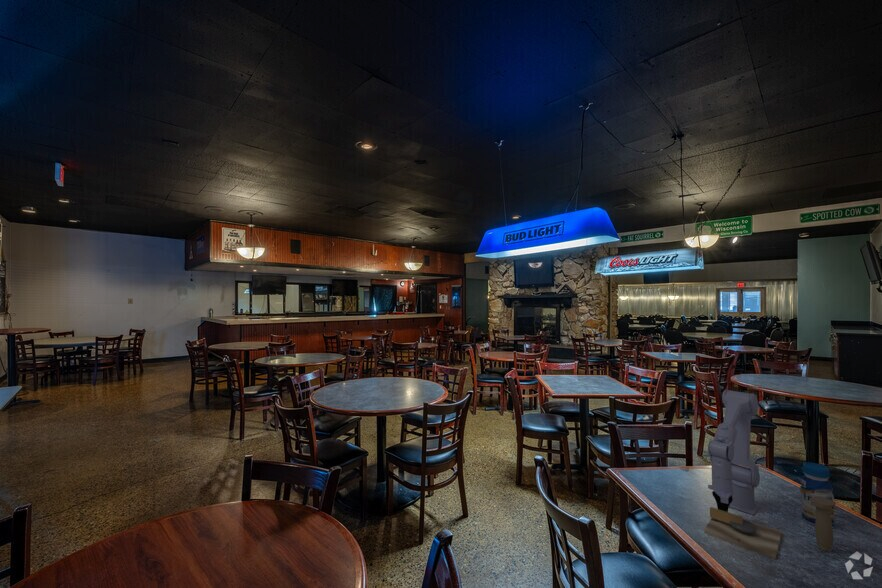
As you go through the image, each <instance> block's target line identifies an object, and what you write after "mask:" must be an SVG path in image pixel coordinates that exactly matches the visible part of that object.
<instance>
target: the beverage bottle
mask: <svg viewBox="0 0 882 588" xmlns="http://www.w3.org/2000/svg"><path fill="white" fill-rule="evenodd" d="M802 473H803V474H804V475H802V476H801V479H800V483H801V485H800V488H799V490H800V503H801V517H802V519H803V520H804V521H805V522H806V523H808V524H810V525H813V526H814V527H815V521H816V507H815V506H814V505H812V504H811V498H812V497H823V498H826V499H829V500H832V501H834V500H835V496H834V494H833V491H834V487H833V486H832V483H831V482H830V481H829V480H828V479H830V469H829V467H827V466H825V465H823V464H819V463H815V462H810V461H809V462H808V461H807V462H806V461H804V462H803V463H802ZM831 521H832V529H834V527H835V510H831Z"/></svg>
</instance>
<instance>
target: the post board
mask: <svg viewBox="0 0 882 588" xmlns="http://www.w3.org/2000/svg"><path fill="white" fill-rule="evenodd" d="M743 520H746V521H749V522H751V523H752V524H754V525H755V526H756V533H745V532H742V531H739V530H737V529H735V528H733V527H732V526H731V525H730V524H729V523H726V522H723V521H720V520H717V519H714V518H712V517H710V519H709V521H708V523H707V525H706V526H705V528H704V534H706V535H708V536H711V537H714V538H717V539H719V540H722V541H725V542H728V543H730V544H733V545H736V546H738V547H741V548H743V549H745V550H749V551H751V552H754V553H757V554H759V555H762V556H765V557H768V558H771V559H773V560H776V561H777V556H778V553H779V548H780V544H781V539H782V535H783V532H782V530H779V529H776V528H774V527H770V526H767V525H763V524H761V523H758V522H755V521H751V520H749V519H747V518H746V519H745V518H743Z"/></svg>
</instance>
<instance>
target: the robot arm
mask: <svg viewBox="0 0 882 588" xmlns="http://www.w3.org/2000/svg"><path fill="white" fill-rule="evenodd" d="M721 401H722V403H723V406H724V408H725V410H724V416H723V422H721V423H719V424H718V425H717V428H716V430H715V434H714V437H713V439H712V440H710V441H708V445H707V453H708V456H709V461H710V462H711V463H710V465H711V466H710V467H711V484H707V487H708V489H709V490H712V491H711V494H712V497H713V498H714V501H715V502H716V508H717V509H719V510H723V511H726V512H729V508H731V509H733V510H737V511H741V512H744V513H747V514H750V515H753V516H755V515H756V512H757V510H758V507H759V505H758V503H756V502H755V488H758V487H759V485H760V481H761V478H760V468H759V466H758V465H757V464H756V463H755V462H754V461H753V460H751V458H750V456H751V454H750V452H751V427H752V426H751V421H752V417H754V416H757V415H758V412H759V411H758V409H759V408H758V406H759V405H758V403H759V401H758V396H757V395H756V394H755V393H749V392H743V391H735V390H729V389H724V390H723V392H722V395H721Z"/></svg>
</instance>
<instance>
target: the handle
mask: <svg viewBox="0 0 882 588" xmlns="http://www.w3.org/2000/svg"><path fill="white" fill-rule="evenodd" d="M811 504H812V505H814V506H815V507H816V521H815V526H814V529H815V538H816V542H817V547H818V548H819V549H820V550H823V552H829V553H831V552H832V551H833V544H834V531H833V529H834V528H832V521H831V510H834V509H836V501H834V500H833V501H832V500H829V499H826V498H823V497H812V498H811ZM834 511H835V510H834Z"/></svg>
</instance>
